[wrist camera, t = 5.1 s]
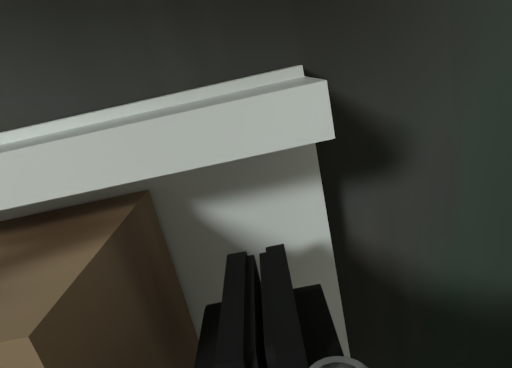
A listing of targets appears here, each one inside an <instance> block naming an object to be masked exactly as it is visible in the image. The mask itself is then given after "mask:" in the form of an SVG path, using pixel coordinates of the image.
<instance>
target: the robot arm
mask: <svg viewBox="0 0 512 368" xmlns="http://www.w3.org/2000/svg"><path fill="white" fill-rule="evenodd" d="M259 259H260V277H261V281H260V277H259V273H258V268H257V264H256V260H255V256H254V255H249V256H248V255H247V252H246V251H243V252H238V253H233V254H228V255H227V259H226V268H225V276H224V285H223V294H222V302H219V303H214V304H209V305H206V306H205V310H204V315H203V321H202V326H201V332H200V337H199V342H198V348H197V353H196V359H195V364H194V368H368V367H367V366H366V365H364V364H363V363H361V362H360V361H358V360H355V359H352V358H349V357H344V354H343V351H342V348H341V345H340V342H339V339H338V336H337V333H336V330H335V326H334V323H333V320H332V317H331V314H330V311H329V308H328V305H327V302H326V299H325V296H324V293H323V290H322V287H321V285H320V284H315V285H310V286H304V287H299V288H294V289H293V286H292V281H291V276H290V271H289V267H288V262H287V257H286V252H285V247H284V244H279V245H274V246H269V247H266V252H264V253H259Z"/></svg>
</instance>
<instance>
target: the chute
mask: <svg viewBox="0 0 512 368" xmlns="http://www.w3.org/2000/svg"><path fill="white" fill-rule="evenodd" d="M331 139H335V133H334V127H333V120H332V113H331V106H330V99H329V92H328V85H327V80H323V79H318V78H312V77H306V76H304V71H303V65H296V66H292V67H288V68H283V69H279V70H274V71H270V72H265V73H261V74H257V75H252V76H248V77H243V78H239V79H235V80H230V81H226V82H221V83H217V84H212V85H208V86H204V87H199V88H195V89H190V90H186V91H182V92H177V93H173V94H168V95H164V96H159V97H155V98H151V99H146V100H142V101H137V102H133V103H129V104H124V105H120V106H115V107H111V108H106V109H102V110H98V111H93V112H89V113H84V114H80V115H76V116H71V117H67V118H62V119H58V120H54V121H49V122H45V123H40V124H36V125H31V126H27V127H23V128H18V129H14V130H9V131H5V132H1V133H0V221H4V220H9V219H14V218H18V217H23V216H28V215H33V214H37V213H42V212H47V211H51V210H56V209H61V208H65V207H70V206H75V205H79V204H84V203H89V202H94V201H98V200H103V199H108V198H112V197H117V196H122V195H126V194H131V193H136V192H141V191H145V190H149V193H150V196H151V199H152V202H153V205H154V208H155V211H156V214H157V217H158V220H159V223H160V226H161V229H162V232H163V235H164V238H165V241H166V244H167V247H168V250H169V253H170V256H171V259H172V262H173V265H174V268H175V271H176V274H177V277H178V280H179V283H180V286H181V289H182V292H183V295H184V298H185V301H186V304H187V307H188V310H189V313H190V316H191V319H192V322H193V325H194V328H195V331H196V334H197V337H198V340H199V337H200V332H201V326H202V321H203V315H204V310H205V306H206V305H209V304H214V303H219V302H222V294H223V285H224V276H225V268H226V259H227V255H228V254H233V253H238V252H243V251H246V252H247V255H248V256H249V255H254V256H255V260H256V264H257V268H258V273H259V277H260V259H259V253H264V252H266V247H269V246H274V245H279V244H284V247H285V252H286V257H287V262H288V267H289V271H290V276H291V281H292V286H293V289H294V288H299V287H304V286H310V285H315V284H320V285H321V287H322V290H323V293H324V296H325V299H326V302H327V305H328V308H329V311H330V314H331V317H332V320H333V323H334V326H335V330H336V333H337V336H338V339H339V342H340V345H341V348H342V351H343V354H344V357H349V358H350V352H349V346H348V340H347V334H346V328H345V322H344V315H343V309H342V303H341V297H340V291H339V285H338V279H337V273H336V267H335V261H334V254H333V248H332V242H331V236H330V230H329V224H328V218H327V212H326V206H325V200H324V193H323V187H322V181H321V175H320V169H319V163H318V157H317V151H316V145H315V143H317V142H321V141H326V140H331ZM260 281H261V277H260Z"/></svg>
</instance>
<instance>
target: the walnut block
mask: <svg viewBox="0 0 512 368" xmlns="http://www.w3.org/2000/svg"><path fill="white" fill-rule="evenodd" d="M198 342H199V340H198V337H197V334H196V331H195V328H194V325H193V322H192V319H191V316H190V313H189V310H188V307H187V304H186V301H185V298H184V295H183V292H182V289H181V286H180V283H179V280H178V277H177V274H176V271H175V268H174V265H173V262H172V259H171V256H170V253H169V250H168V247H167V244H166V241H165V238H164V235H163V232H162V229H161V226H160V223H159V220H158V217H157V214H156V211H155V208H154V205H153V202H152V199H151V196H150V193H149V190H145V191H141V192H136V193H131V194H126V195H122V196H117V197H112V198H108V199H103V200H98V201H94V202H89V203H84V204H79V205H75V206H70V207H65V208H61V209H56V210H51V211H47V212H42V213H37V214H33V215H28V216H23V217H18V218H14V219H9V220H4V221H0V368H194V364H195V359H196V353H197V348H198Z"/></svg>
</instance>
